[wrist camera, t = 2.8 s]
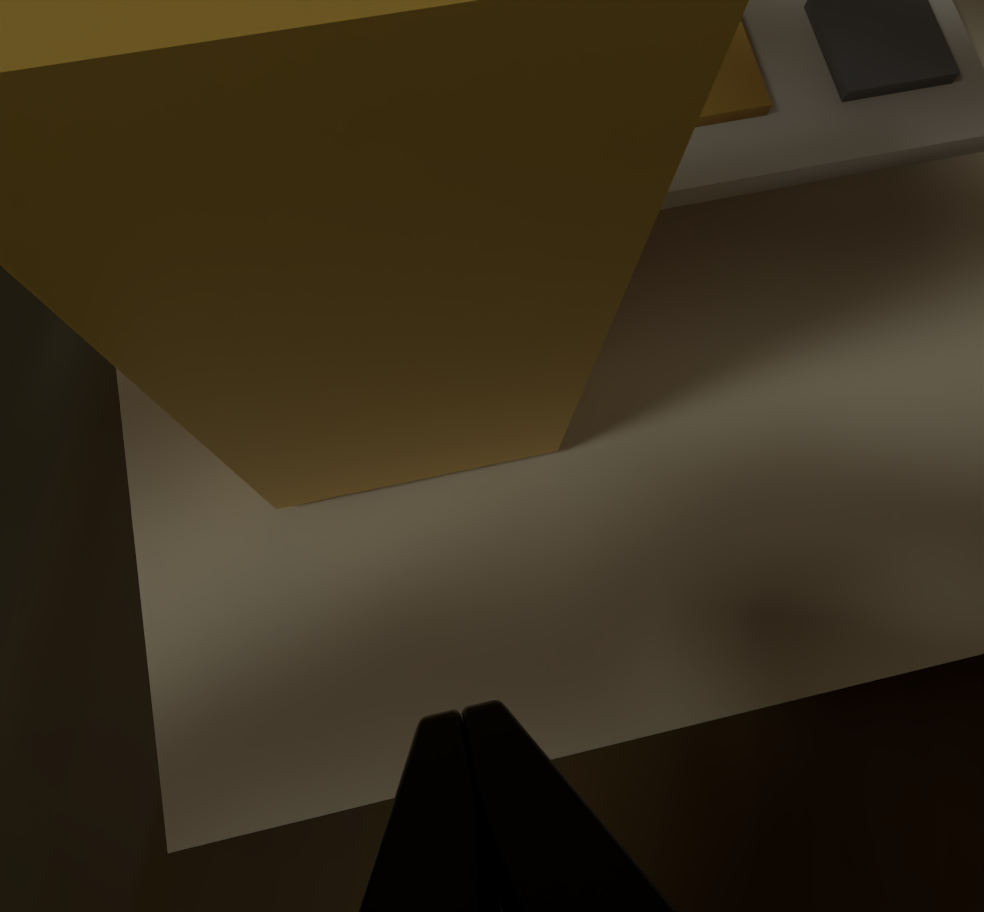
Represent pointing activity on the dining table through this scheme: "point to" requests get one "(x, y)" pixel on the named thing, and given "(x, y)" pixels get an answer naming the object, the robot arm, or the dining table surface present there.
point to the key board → (633, 467)
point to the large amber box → (347, 211)
